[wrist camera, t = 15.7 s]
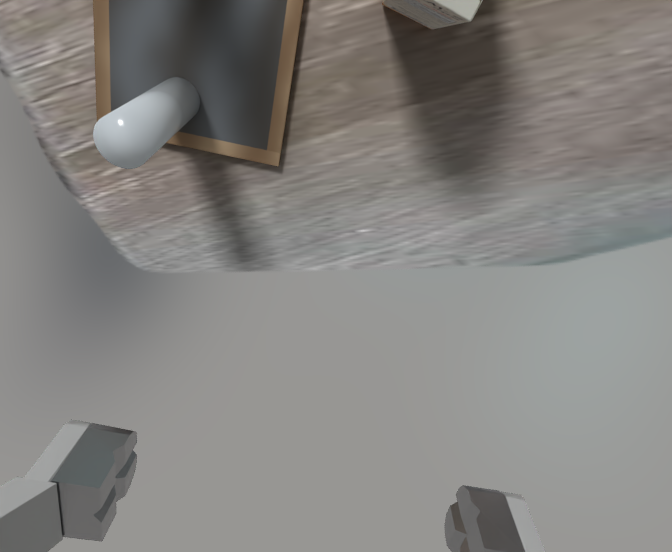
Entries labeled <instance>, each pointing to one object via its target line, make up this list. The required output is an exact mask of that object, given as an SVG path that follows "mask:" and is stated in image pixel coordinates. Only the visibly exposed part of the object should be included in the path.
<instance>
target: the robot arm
mask: <svg viewBox="0 0 672 552" xmlns="http://www.w3.org/2000/svg"><path fill="white" fill-rule="evenodd" d="M136 443H137V433H136V432H135V431H130V430H125V429H120V428H115V427H110V426H105V425H99V424H94V423H88V422H83V421H77V420H72V419H71V420H70V421H69V422H67V423H66V424H65V425H64V426H63V427H62V428H61V430H60V431H59V432H58V434H57V435H56V436H55V438H54V439H53V440H52V441H51V443H50V444H49V445H48V447H47V448H46V449H45V451H44V452H43V453H42V455H41V456H40V457H39V459H38V460H37V461H36V462H35V464H34V465H33V467H32V468H31V469H30V470H29V472H28V473H27V474H26V476H25V477H24V478H22V477H16V478H14V479H12V480H10V481H9V482H7V483H5V484H3V485H1V486H0V552H48V551H49V550H50V549H51V548H53V547H54V546H55V545H56V544H57V543H59V542H60V541H61V540H62V539H63V537H69V538H77V539H86V540H95V541H103V539H104V537H105V535H106V533H107V531H108V529H109V527H110V525H111V523H112V521H113V519H114V517H115V515H116V502H117V501H118V500H120V499H121V498H123V497H124V496H125V495H126V493H127V491H128V489H129V486H130V485H131V482H132V479H133V476H134V472H135V468H136V463H137V455H136V453H135V452H134V451H133V448H134V446H135V445H136ZM456 497H457V501H458V502H456V503H454V504H453V505H451V506H450V507H449V509H448V512H447V514H446V520H445V537H446V543H447V546H448V548H449V549H450V550H451V551H452V552H545V549H544V546H543V544H542V542H541V539H540V537H539V534H538V532H537V529H536V527H535V524H534V522H533V520H532V517H531V514H530V512H529V510H528V507H527V505H526V502H525V500H524V498H523V497H522V496H521V495H518V494H513V493H506V492H500V491H497V490H491V489H484V488H477V487H471V486H464V485H463V486H461V487H460V488H459V489H458V491H457V493H456Z"/></svg>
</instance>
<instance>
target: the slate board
mask: <svg viewBox="0 0 672 552" xmlns="http://www.w3.org/2000/svg"><path fill="white" fill-rule="evenodd" d="M303 5H304V0H93V14H94V45H95V76H96V108H97V121H98V120H99V119H100V118H102V117H103V116H105V115H107V114H108V113H110V112H112V111H114V110H115V109H117V108H119V107H121V106H122V105H124V104H126V103H127V102H129V101H131V100H133V99H134V98H136V97H138V96H139V95H141V94H143V93H145V92H146V91H148V90H150V89H152V88H153V87H155V86H157V85H158V84H160V83H162V82H164V81H165V80H167V79H169V78H172V77H179V78H183V79H185V80H187V81H189V82H190V83H191V84H192V85H193V86H194V87H195V88H196V90H197V92H198V94H199V97H200V107H199V110H198V112H197V114H196V115H195V116H194V117H193V118H192V119H191V120H189V121H188V122H187V123H186V124H185V125H184V126H183V127H182V128H181V129H180V130H179V131H178V132H177V133H176V134H175V135H174V136H173V137H172V138H170V139H169V140H168V141H167V142H166V143H170V144H174V145H179V146H184V147H189V148H193V149H198V150H203V151H208V152H212V153H217V154H222V155H227V156H231V157H236V158H241V159H246V160H250V161H255V162H260V163H265V164H269V165H274V166H279V164H280V157H281V151H282V144H283V137H284V131H285V124H286V117H287V111H288V104H289V98H290V91H291V84H292V78H293V71H294V64H295V58H296V51H297V45H298V38H299V31H300V25H301V18H302V11H303Z"/></svg>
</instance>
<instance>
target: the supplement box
mask: <svg viewBox="0 0 672 552" xmlns="http://www.w3.org/2000/svg"><path fill="white" fill-rule="evenodd" d="M482 1H483V0H383V3H382V4H383V5H384V6H386V7H388V8H390V9H392V10H394V11H396V12H398V13H400V14H402V15H404V16H406V17H408V18H410V19H412V20H414V21H416V22H418V23H420V24H422V25H424V26H426V27H428V28H429V29H431V30H433V29H438V28H443V27H447V26H452V25H457V24H461V23H466V22H471V21H472V19H473V18H474V16H475V14H476V12H477V10H478V8H479V7H480V5H481V3H482Z"/></svg>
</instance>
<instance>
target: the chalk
mask: <svg viewBox="0 0 672 552" xmlns="http://www.w3.org/2000/svg"><path fill="white" fill-rule="evenodd" d="M199 107H200V97H199V94H198V92H197V90H196V88H195V87H194V86H193V85H192V84H191V83H190V82H189V81H187V80H185V79H183V78H179V77H172V78H169V79H167V80H165V81H164V82H162V83H160V84H158V85H157V86H155V87H153V88H152V89H150V90H148V91H146V92H145V93H143V94H141V95H139V96H138V97H136V98H134V99H133V100H131V101H129V102H127V103H126V104H124V105H122V106H121V107H119V108H117V109H115V110H114V111H112V112H110V113H108V114H107V115H105V116H103V117H102V118H100V119H99V120H98V121H97V123H96V125H95V127H94V132H93V136H94V142H95V145H96V147H97V149H98V150H99V152H100V153H101V155H102V156H103V157H104V158H105V159H106V160H107V161H109V162H110V163H112V164H113V165H115V166H118V167H121V168H125V169H133V168H137V167H140V166H141V165H143V164H144V163H145V162H146V161H147V160H148V159H149V158H150V157H151V156H152V155H154V154H155V153H156V152H157V151H158V150H159V149H160V148H161V147H162V146H163V145H164V144H165V143H166V142H167V141H168V140H169V139H170V138H172V137H173V136H174V135H175V134H176V133H177V132H178V131H179V130H180V129H181V128H182V127H183V126H184V125H185V124H186V123H187V122H188V121H189V120H191V119H192V118H193V117H194V116H195V115H196V114H197V112H198V110H199Z"/></svg>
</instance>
